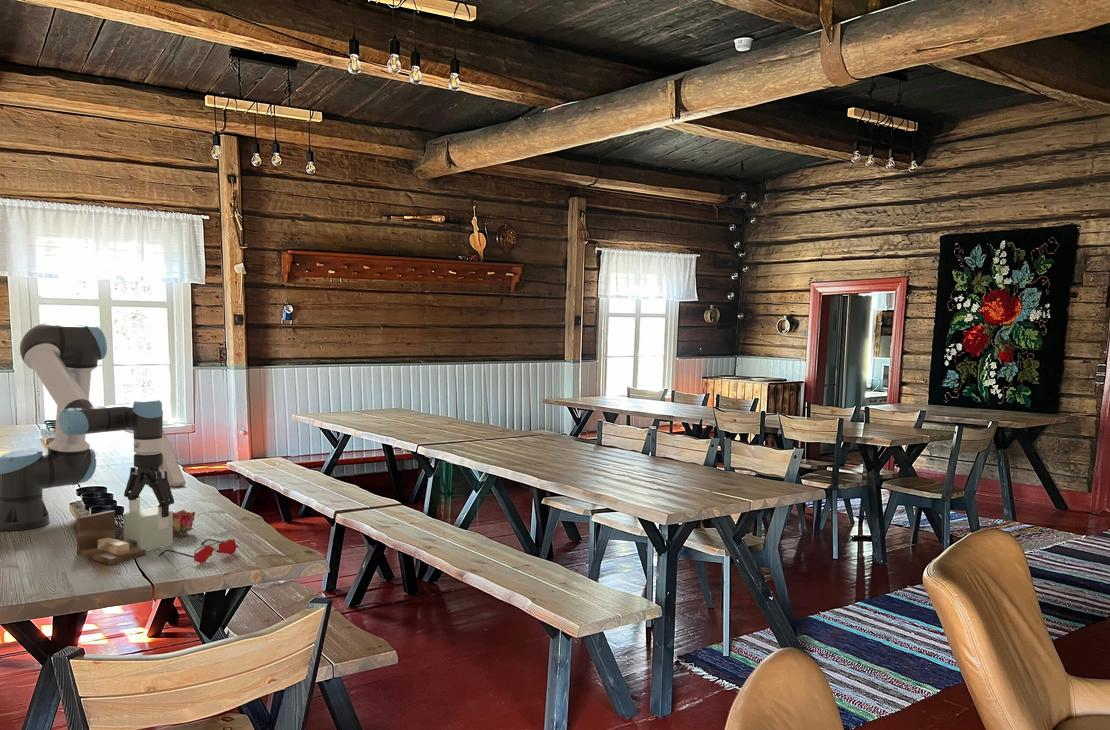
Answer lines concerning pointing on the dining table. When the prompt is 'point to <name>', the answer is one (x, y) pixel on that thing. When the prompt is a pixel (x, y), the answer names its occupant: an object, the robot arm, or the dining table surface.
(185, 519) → the flower
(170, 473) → the wooden letter a
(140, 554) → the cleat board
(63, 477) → the robot arm
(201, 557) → the glasses
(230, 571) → the dining table surface
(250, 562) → the dining table surface
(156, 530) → the cabinet block
